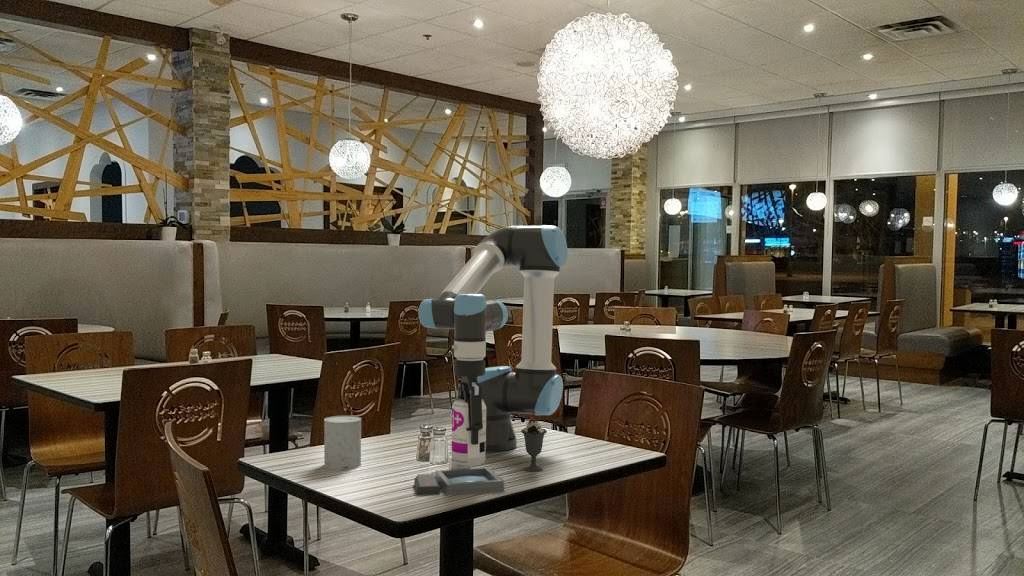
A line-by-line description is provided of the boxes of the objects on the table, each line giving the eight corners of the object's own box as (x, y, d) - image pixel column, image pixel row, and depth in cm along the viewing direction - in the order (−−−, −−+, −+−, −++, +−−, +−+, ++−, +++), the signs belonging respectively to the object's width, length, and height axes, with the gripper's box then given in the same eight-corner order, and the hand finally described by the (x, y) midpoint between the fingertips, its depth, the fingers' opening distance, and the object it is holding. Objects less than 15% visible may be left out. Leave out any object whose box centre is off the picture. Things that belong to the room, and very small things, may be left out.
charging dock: (483, 472, 207) (484, 452, 207) (504, 491, 190) (504, 470, 190) (431, 476, 203) (431, 456, 203) (447, 496, 186) (447, 474, 186)
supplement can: (458, 468, 189) (458, 404, 189) (446, 460, 197) (447, 398, 196) (490, 465, 192) (491, 402, 192) (478, 457, 200) (478, 396, 200)
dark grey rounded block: (417, 497, 186) (417, 485, 186) (413, 483, 198) (413, 472, 198) (439, 496, 187) (440, 484, 187) (434, 482, 199) (434, 471, 199)
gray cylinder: (352, 471, 207) (352, 423, 207) (317, 469, 209) (317, 421, 209) (366, 462, 217) (366, 416, 216) (333, 460, 219) (333, 414, 218)
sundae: (532, 464, 216) (533, 408, 215) (551, 469, 211) (552, 412, 210) (515, 469, 211) (515, 411, 211) (533, 474, 206) (534, 415, 206)
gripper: (444, 354, 203) (443, 444, 203) (465, 364, 183) (464, 464, 183) (473, 353, 205) (472, 443, 206) (497, 363, 185) (496, 462, 186)
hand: (468, 453), depth 195 cm, fingers closed on supplement can, 8 cm apart
